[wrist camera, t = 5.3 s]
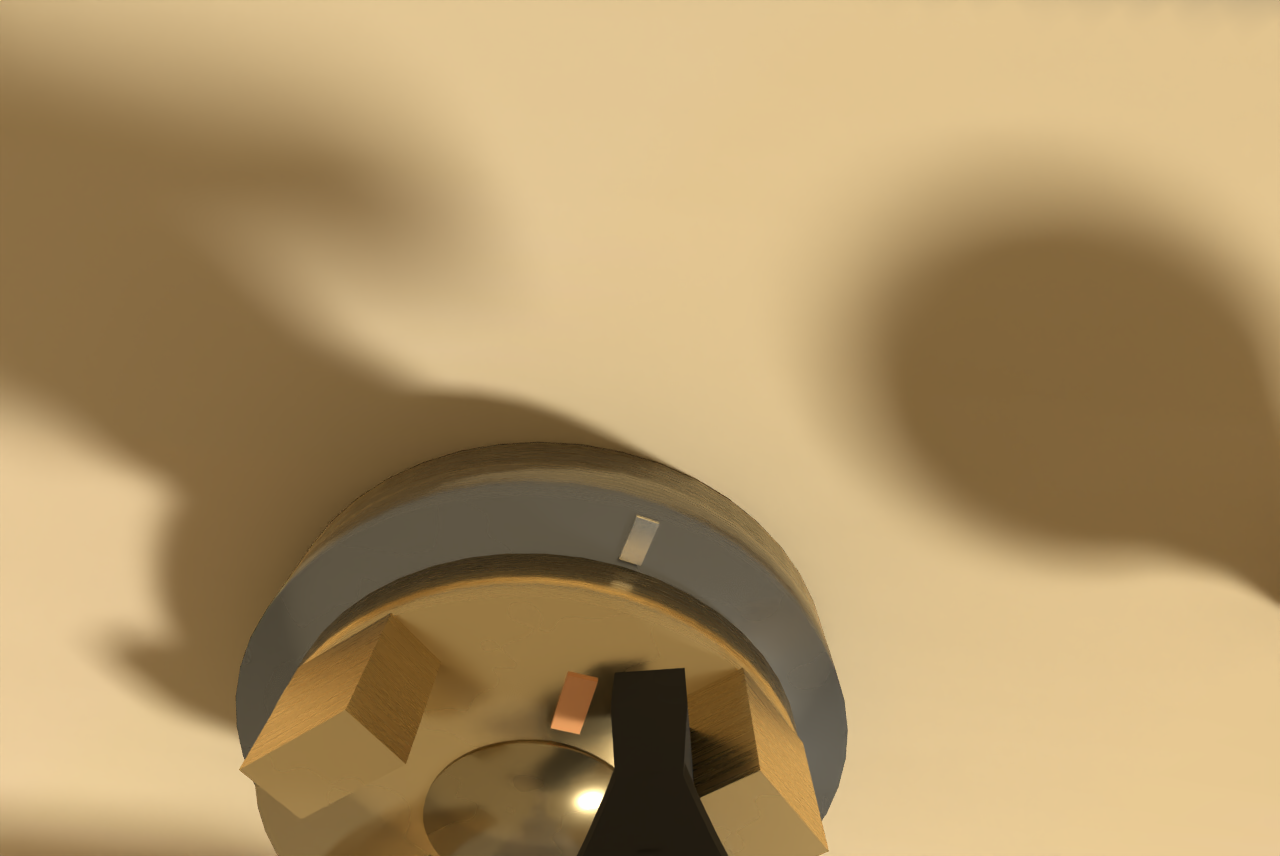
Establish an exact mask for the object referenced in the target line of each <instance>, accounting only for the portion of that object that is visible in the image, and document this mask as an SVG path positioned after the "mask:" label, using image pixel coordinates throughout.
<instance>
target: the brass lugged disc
mask: <svg viewBox="0 0 1280 856" xmlns="http://www.w3.org/2000/svg"><path fill="white" fill-rule="evenodd" d="M674 668H685V677H686V689H687V702H688V714H689V727H690V739H691V752H692V764H693V777H694V786H695V788H696V790H697V793H698V795H699V797H700V799H701V802H702V804H703V806H704V808H705V810H706V812H707V814H708V816H709V818H710V820H711V823H712V825H713V827H714V829H715V831H716V833H717V835H718V837H719V839H720V841H721V843H722V845H723V846H724V848H725V850H726V852H727V854H728V856H819V855H821V854H823V853H826V852H828V851H829V850H828V846H827V842H826V838H825V833H824V829H823V825H822V821H821V817H820V812H819V808H818V804H817V800H816V796H815V791H814V787H813V783H812V779H811V775H810V770H809V766H808V762H807V758H806V754H805V749H804V745H803V742H802V741H801V739H800V738H799V737H798V734H797V730H796V726H795V722H794V718H793V714H792V710H791V706H790V703H789V701H788V698H787V696H786V694H785V692H784V689H783V687H782V685H781V683H780V680H779V679H778V677H777V676H776V674H775V672H774V671H773V669H772V668H771V666H770V665H769V663H768V662H767V660H766V659H765V657H764V656H763V655H762V654H761V652H760V651H759V650H758V649H757V648H756V647H755V646H754V645H753V644H752V642H751V641H750V640H749V639H748V638H747V637H746V636H745V635H744V634H743V633H742V632H741V631H740V630H739V629H738V628H736V627H735V626H734V625H733V624H732V623H730V622H729V621H728V620H727V619H726V618H724V617H723V616H722V615H721V614H720V613H718V612H717V611H715V610H714V609H712V608H711V607H709V606H708V605H706V604H704V603H703V602H701V601H700V600H698V599H697V598H695V597H693V596H692V595H690V594H689V593H687V592H684V591H682V590H680V589H678V588H676V587H674V586H672V585H670V584H668V583H666V582H663V581H661V580H659V579H657V578H654V577H652V576H649V575H646V574H643V573H640V572H637V571H634V570H631V569H628V568H625V567H622V566H618V565H614V564H609V563H605V562H600V561H596V560H591V559H587V558H581V557H572V556H563V555H554V554H498V555H489V556H480V557H471V558H465V559H461V560H456V561H452V562H448V563H443V564H439V565H435V566H431V567H428V568H425V569H423V570H420V571H417V572H414V573H412V574H409V575H406V576H403V577H401V578H398V579H396V580H394V581H392V582H390V583H388V584H387V585H385V586H383V587H381V588H379V589H377V590H375V591H373V592H371V593H369V594H368V595H366V596H365V597H363V598H362V599H361V600H359V601H358V602H356V603H355V604H354V605H352V606H351V607H349V608H348V609H346V610H345V611H344V612H342V613H341V614H340V615H339V616H338V617H337V618H336V619H335V620H334V621H333V622H332V623H331V624H330V625H329V626H328V627H327V628H326V629H325V630H324V631H323V632H322V633H321V634H320V636H319V637H318V638H317V640H316V641H315V642H314V644H313V645H312V646H311V648H310V649H309V650H308V652H307V653H306V655H305V656H304V658H303V659H302V661H301V663H300V665H299V666H298V668H297V670H296V671H295V673H294V675H293V677H292V678H291V680H290V682H289V683H288V685H287V687H286V689H285V690H284V692H283V694H282V695H281V697H280V699H279V701H278V702H277V704H276V706H275V708H274V710H273V712H272V714H271V716H270V718H269V719H268V721H267V723H266V724H265V726H264V728H263V730H262V731H261V733H260V735H259V736H258V738H257V740H256V742H255V743H254V745H253V747H252V748H251V750H250V752H249V754H248V755H247V757H246V759H245V760H244V762H243V764H242V766H241V767H240V769H239V770H240V771H241V772H242V773H244V774H245V775H246V776H247V777H249V778H250V779H251V780H252V781H254V782H255V788H256V796H257V804H258V809H259V812H260V815H261V818H262V822H263V825H264V828H265V831H266V833H267V835H268V837H269V839H270V841H271V843H272V845H273V847H274V849H275V851H276V853H277V855H278V856H577V854H578V852H579V850H580V848H581V846H582V844H583V842H584V840H585V837H586V835H587V833H588V831H589V828H590V826H591V824H592V821H593V819H594V817H595V814H596V812H597V810H598V808H599V805H600V803H601V801H602V798H603V796H604V794H605V791H606V789H607V786H608V784H609V781H610V778H611V775H612V773H613V770H614V754H613V738H612V722H611V700H612V690H613V682H614V674H615V673H616V672H630V671H645V670H659V669H674Z"/></svg>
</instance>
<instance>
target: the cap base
mask: <svg viewBox="0 0 1280 856" xmlns="http://www.w3.org/2000/svg"><path fill="white" fill-rule="evenodd" d="M498 554H554V555H563V556H572V557H581V558H587V559H591V560H596V561H600V562H605V563H609V564H614V565H618V566H622V567H625V568H628V569H631V570H634V571H637V572H640V573H643V574H646V575H649V576H652V577H654V578H657V579H659V580H661V581H663V582H666V583H668V584H670V585H672V586H674V587H676V588H678V589H680V590H682V591H684V592H687V593H689V594H690V595H692V596H693V597H695V598H697V599H698V600H700V601H701V602H703V603H704V604H706V605H708V606H709V607H711V608H712V609H714V610H715V611H717V612H718V613H720V614H721V615H722V616H723V617H724V618H726V619H727V620H728V621H729V622H730V623H732V624H733V625H734V626H735V627H736V628H738V629H739V630H740V631H741V632H742V633H743V634H744V635H745V636H746V637H747V638H748V639H749V640H750V641H751V642H752V644H753V645H754V646H755V647H756V648H757V649H758V650H759V651H760V652H761V654H762V655H763V656H764V657H765V659H766V660H767V662H768V663H769V665H770V666H771V668H772V669H773V671H774V672H775V674H776V676H777V677H778V679H779V680H780V683H781V685H782V687H783V689H784V692H785V694H786V696H787V698H788V701H789V703H790V706H791V710H792V714H793V718H794V722H795V726H796V730H797V734H798V737H799V738H800V739H801V741H802V742H803V745H804V749H805V754H806V758H807V762H808V766H809V770H810V775H811V779H812V783H813V787H814V791H815V796H816V800H817V804H818V808H819V812H820V817H821V821H822V819H823V818H824V816H825V815H826V813H827V811H828V809H829V807H830V805H831V802H832V800H833V798H834V796H835V793H836V791H837V789H838V786H839V782H840V779H841V775H842V771H843V767H844V763H845V759H846V745H847V731H848V729H847V720H846V711H845V701H844V697H843V694H842V690H841V687H840V684H839V680H838V677H837V673H836V670H835V667H834V664H833V661H832V658H831V654H830V651H829V648H828V645H827V642H826V639H825V636H824V633H823V630H822V626H821V623H820V620H819V617H818V614H817V611H816V608H815V605H814V602H813V600H812V598H811V596H810V593H809V591H808V589H807V587H806V585H805V583H804V581H803V579H802V577H801V575H800V573H799V572H798V570H797V569H796V568H795V566H794V565H793V563H792V562H791V560H790V559H789V557H788V556H787V555H786V553H785V552H784V550H783V549H782V547H781V546H780V545H779V544H778V543H777V542H776V541H775V540H774V539H773V538H772V537H771V536H770V535H769V534H768V533H767V532H766V530H765V529H764V528H763V527H762V526H761V525H760V524H759V523H758V522H757V521H755V520H754V519H753V518H752V517H750V516H749V515H748V514H747V513H745V512H744V511H743V510H742V509H740V508H739V507H738V506H737V505H735V504H734V503H733V502H732V501H730V500H729V499H727V498H726V497H724V496H722V495H721V494H719V493H717V492H716V491H714V490H713V489H711V488H709V487H708V486H706V485H704V484H703V483H701V482H699V481H698V480H695V479H693V478H691V477H689V476H687V475H684V474H682V473H680V472H678V471H675V470H673V469H671V468H669V467H666V466H664V465H662V464H659V463H655V462H652V461H649V460H646V459H642V458H639V457H636V456H633V455H629V454H626V453H623V452H618V451H612V450H607V449H601V448H596V447H590V446H585V445H575V444H559V443H543V442H537V443H519V444H501V445H494V446H488V447H483V448H477V449H471V450H466V451H460V452H457V453H453V454H450V455H447V456H444V457H440V458H437V459H434V460H431V461H427V462H424V463H421V464H419V465H417V466H415V467H413V468H410V469H408V470H406V471H404V472H402V473H400V474H397V475H395V476H393V477H391V478H389V479H387V480H385V481H384V482H382V483H381V484H379V485H378V486H376V487H375V488H373V489H371V490H370V491H368V492H367V493H365V494H364V495H362V496H360V497H359V498H358V499H356V500H355V501H354V502H353V503H352V504H351V505H350V506H348V507H347V508H346V509H345V510H344V511H343V512H342V513H340V514H339V515H338V516H337V517H336V518H335V519H334V520H332V522H331V523H330V524H329V525H328V526H327V528H326V529H325V530H324V531H323V532H322V534H321V535H320V536H319V537H318V538H317V540H316V541H315V542H314V543H313V544H312V546H311V547H310V549H309V550H308V551H307V553H306V554H305V556H304V557H303V558H302V560H301V561H300V563H299V564H298V566H297V567H296V568H295V570H294V571H293V573H292V574H291V575H290V577H289V578H288V580H287V581H286V583H285V584H284V585H283V587H282V588H281V590H280V591H279V592H278V594H277V595H276V597H275V598H274V600H273V601H272V602H271V604H270V605H269V607H268V608H267V610H266V612H265V613H264V615H263V617H262V618H261V620H260V622H259V624H258V625H257V627H256V629H255V631H254V632H253V634H252V636H251V638H250V641H249V644H248V647H247V649H246V652H245V655H244V658H243V661H242V664H241V666H240V673H239V679H238V686H237V692H236V716H237V730H238V734H239V739H240V744H241V748H242V753H243V757H244V759H246V757H247V755H248V754H249V752H250V750H251V748H252V747H253V745H254V743H255V742H256V740H257V738H258V736H259V735H260V733H261V731H262V730H263V728H264V726H265V724H266V723H267V721H268V719H269V718H270V716H271V714H272V712H273V710H274V708H275V706H276V704H277V702H278V701H279V699H280V697H281V695H282V694H283V692H284V690H285V689H286V687H287V685H288V683H289V682H290V680H291V678H292V677H293V675H294V673H295V671H296V670H297V668H298V666H299V665H300V663H301V661H302V659H303V658H304V656H305V655H306V653H307V652H308V650H309V649H310V648H311V646H312V645H313V644H314V642H315V641H316V640H317V638H318V637H319V636H320V634H321V633H322V632H323V631H324V630H325V629H326V628H327V627H328V626H329V625H330V624H331V623H332V622H333V621H334V620H335V619H336V618H337V617H338V616H339V615H340V614H341V613H342V612H344V611H345V610H346V609H348V608H349V607H351V606H352V605H354V604H355V603H356V602H358V601H359V600H361V599H362V598H363V597H365V596H366V595H368V594H369V593H371V592H373V591H375V590H377V589H379V588H381V587H383V586H385V585H387V584H388V583H390V582H392V581H394V580H396V579H398V578H401V577H403V576H406V575H409V574H412V573H414V572H417V571H420V570H423V569H425V568H428V567H431V566H435V565H439V564H443V563H448V562H452V561H456V560H461V559H465V558H471V557H480V556H489V555H498ZM253 782H254V781H253ZM254 784H255V782H254Z"/></svg>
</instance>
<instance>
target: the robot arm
mask: <svg viewBox="0 0 1280 856" xmlns="http://www.w3.org/2000/svg"><path fill="white" fill-rule="evenodd" d="M611 722H612V738H613V754H614V770H613V773H612V775H611V778H610V781H609V784H608V786H607V789H606V791H605V794H604V796H603V798H602V801H601V803H600V805H599V808H598V810H597V812H596V814H595V817H594V819H593V821H592V824H591V826H590V828H589V831H588V833H587V835H586V837H585V840H584V842H583V844H582V846H581V848H580V850H579V852H578V854H577V856H728V854H727V852H726V850H725V848H724V846H723V845H722V843H721V841H720V839H719V837H718V835H717V833H716V831H715V829H714V827H713V825H712V823H711V820H710V818H709V816H708V814H707V812H706V810H705V808H704V806H703V804H702V802H701V799H700V797H699V795H698V793H697V790H696V788H695V786H694V777H693V764H692V752H691V739H690V727H689V714H688V702H687V689H686V677H685V668H674V669H659V670H645V671H630V672H616V673H615V674H614V682H613V690H612V700H611Z"/></svg>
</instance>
